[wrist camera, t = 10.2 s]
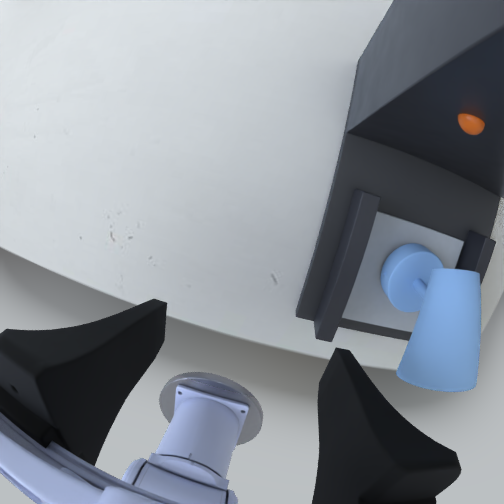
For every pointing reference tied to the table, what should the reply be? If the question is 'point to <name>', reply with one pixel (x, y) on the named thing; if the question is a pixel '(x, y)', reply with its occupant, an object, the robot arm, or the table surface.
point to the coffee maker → (412, 161)
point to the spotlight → (436, 318)
